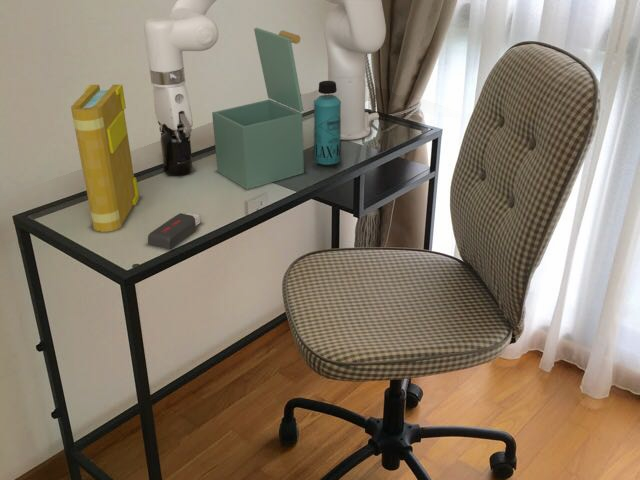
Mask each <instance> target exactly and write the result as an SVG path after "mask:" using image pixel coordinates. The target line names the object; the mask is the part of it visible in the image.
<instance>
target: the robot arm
mask: <svg viewBox="0 0 640 480" xmlns="http://www.w3.org/2000/svg"><path fill="white" fill-rule="evenodd" d="M326 1H327V2H329V3H331V4H334V5H337V6H335V7H332V9H330V10H329V11H328V13H327V14H326V16H325V18H324V24H323V35H324V40H325V45H326V52H327V53H326V54H327V81H334V82H335V83H336V89H337V91H336V92H335V93H332V94H327V95H334V96H336V97H337V98H338V99H339V100H340V101H341V117H340V119H341V138H340V140H341V141H349V140H351V141H353V140H358V139H362V138H366V137H367V136H368V135H370V133H371V126H370V125H369V124H370V122H373V121H378V120H379V118H380V115H379V112H372V113H369V112H368V111H366V65H367V64H366V57H365V55H369V54H374V53H376V52H377V51H379V50H380V49H381V47H382V46H383V45H384V43H385V40H386V35H387V34H386V33H387V25H386V19H385V13H384V8H383V3H382V0H326ZM215 2H217V0H176V2H175V3H174V5H173V6H172V9H171V11H170V12H169V15H168V16H166V15H161V16H153V17H149V18H147V19H146V20H145V21H144V24H143V30H144V37H145V44H146V45H145V46H146V53H147V60H148V61H147V62H148V68H149V76H150V84H151V86H152V91H153V92H152V93H153V105H154V114H155V117H156V120H157V124H158V125H159V128H158V129H159V133H160V137H161V136H162V134H163V133H165V132H164V130H163V128H164V126H163V124H166V126H167V127H168V128H170V129H172V130H174V132H175V135H176V139H177V142H176V149H177V157H178V159H183V158H187V157H190V156H191V153H192V150H191V151H190V142H191V135H192V131H193V129H192V127H193V125H194V124H193V115H192V108H191V102H190V97H189V93H188V88H187V86H186V84H185V83H186V75H185V63H184V57H183V55H184V54H183V52H203V51H208V50H210V49H212V48H213V47H214V46H215V45H216V44H217V42H218V39H219V28H218V25H217V23H216V22H215V21H214V20H213V19H212V18H210V17H208V15H207V13H208V11H209V9H210V8H211V7H212V5H213V4H214V3H215ZM180 125H182V126H183V127H181V128H177V126H180ZM182 130H183V133H181V135H180V134H179V131H182ZM189 141H190V142H189Z"/></svg>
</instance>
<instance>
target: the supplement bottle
mask: <svg viewBox="0 0 640 480" xmlns="http://www.w3.org/2000/svg"><path fill="white" fill-rule="evenodd" d="M163 126H164V128H163V130H164V132H165V133H163V132H162V133H163V134H162V136H161V135H160V148H161V156H162V165H163V172H164V173H165V175H168V176H171V177H183V176H187V175H190V174H191V173H193V170H194V166H193V156H192V153H193V152H192V144H191V140H190V141H189V142H190V151H191V156H190V157H187V158H183V159H178V157H177V149H176V142H177V139H176V135H175V132H174V130H172V129H170V128H168V127H167V126H166V124H163ZM181 127H183V126H182V125H180V126H177V128H181ZM181 133H183V130H182V131H179V134H180V135H181Z"/></svg>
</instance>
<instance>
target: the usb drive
mask: <svg viewBox="0 0 640 480" xmlns="http://www.w3.org/2000/svg"><path fill="white" fill-rule="evenodd" d="M200 219H201V218H200V215H199V214H195V213H190V212H185V213H178V214H176V215H174V216H173V217H171V218H170V219H168V220H167V221H166V222H164V223H163V224H161V225H160V226H157V228H156V229H154V230H153V231H151V232H150V233H149V234H148V235H147V244H148V245H151V246H155V247H159V248H164V249H167V250H172V249H173V248H174V247H176V246H177V245H179V244H180V243H182V242H183V241H185V240H186V239H187V238H189V237H190V236H191V235H192V234H194V233H195V232H196V230H197V226H198V225H199V224H201V220H200Z"/></svg>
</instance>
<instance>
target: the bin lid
mask: <svg viewBox="0 0 640 480" xmlns="http://www.w3.org/2000/svg"><path fill="white" fill-rule="evenodd" d="M253 31H254V36H255V41H256V46H257V51H258V55H259V60H260V66H261V70H262V75H263V80H264V85H265V88H266V95H267V98H268V99H270V100H272V101H274V102H277V103H279V104H281V105H283V106H286V107H288V108H290V109H293V110H295V111H297V112H300V113H302V112H304V107H303V101H302V94H301V89H300V83H299V78H298V72H297V67H296V61H295V55H294V50H293V44H295V45H296V44H299V43H300V42H301V36H300V35H298V34H296V33H293V32H289V31H286V30H280V31H279V32H278V34H277V33H274V32H271V31H268V30H265V29H262V28H259V27H255V28H253Z"/></svg>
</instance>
